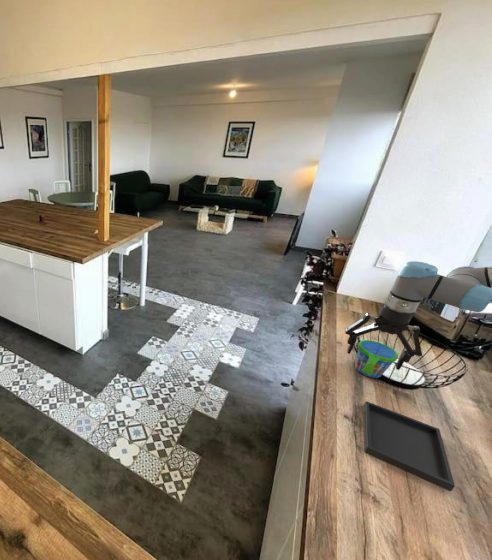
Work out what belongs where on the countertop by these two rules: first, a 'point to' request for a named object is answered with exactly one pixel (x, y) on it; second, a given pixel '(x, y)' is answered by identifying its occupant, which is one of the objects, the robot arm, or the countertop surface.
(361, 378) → the countertop surface
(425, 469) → the dark grey tray
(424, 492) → the countertop surface
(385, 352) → the snack cup
